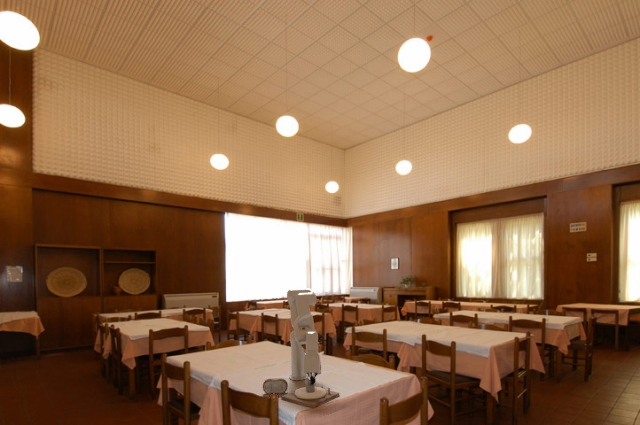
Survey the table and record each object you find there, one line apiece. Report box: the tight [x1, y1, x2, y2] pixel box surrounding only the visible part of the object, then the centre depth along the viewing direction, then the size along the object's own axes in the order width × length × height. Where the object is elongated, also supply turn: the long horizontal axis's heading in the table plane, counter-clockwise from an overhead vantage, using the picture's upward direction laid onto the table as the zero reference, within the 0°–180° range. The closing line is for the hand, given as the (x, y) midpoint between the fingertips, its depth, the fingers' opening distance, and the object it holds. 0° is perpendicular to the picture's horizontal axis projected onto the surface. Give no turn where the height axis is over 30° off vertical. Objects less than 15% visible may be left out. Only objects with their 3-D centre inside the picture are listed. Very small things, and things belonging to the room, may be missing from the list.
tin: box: [262, 378, 289, 395], centre depth 230 cm, size 15×3×8 cm, turn 92°
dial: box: [294, 377, 327, 400], centre depth 222 cm, size 18×18×6 cm
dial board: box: [280, 385, 340, 409], centre depth 221 cm, size 24×24×6 cm
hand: (312, 384), depth 229 cm, fingers closed
